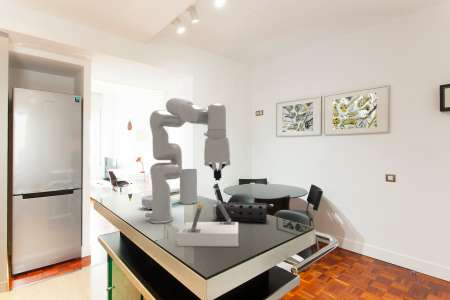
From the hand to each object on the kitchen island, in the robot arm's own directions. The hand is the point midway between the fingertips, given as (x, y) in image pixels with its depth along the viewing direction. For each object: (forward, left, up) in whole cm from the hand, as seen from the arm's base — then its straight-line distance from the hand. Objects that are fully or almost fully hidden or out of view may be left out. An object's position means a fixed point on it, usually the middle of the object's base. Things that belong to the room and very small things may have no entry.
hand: (217, 180), depth 99 cm
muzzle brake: (+9, +33, -26) cm, 43 cm away
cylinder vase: (-29, +81, -26) cm, 90 cm away
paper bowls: (-49, +63, -26) cm, 84 cm away
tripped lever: (-10, 0, -19) cm, 22 cm away
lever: (+4, +11, -19) cm, 23 cm away
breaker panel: (-4, +5, -26) cm, 26 cm away
